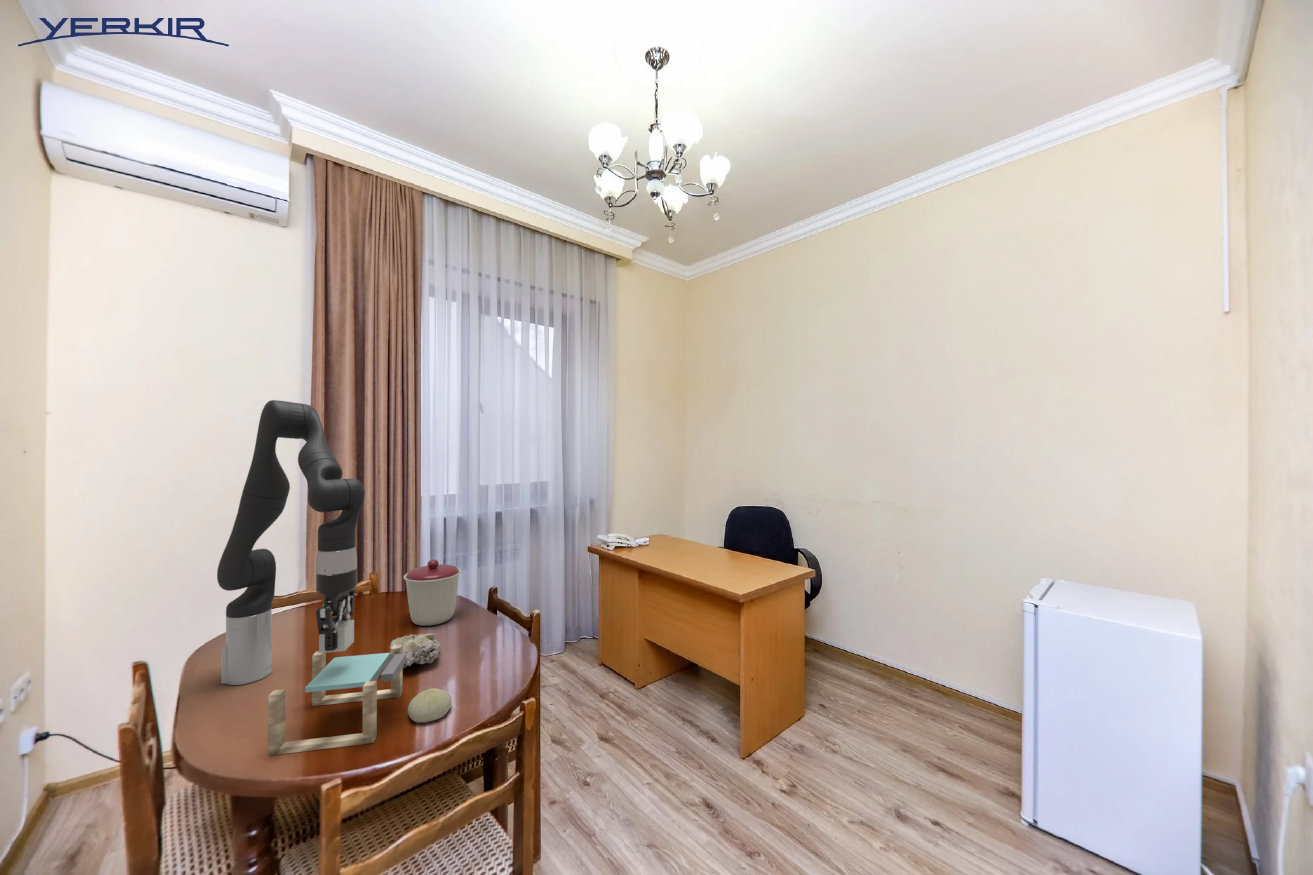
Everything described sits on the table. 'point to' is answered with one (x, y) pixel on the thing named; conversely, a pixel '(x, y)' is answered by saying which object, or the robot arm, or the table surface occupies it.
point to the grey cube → (340, 637)
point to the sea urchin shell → (429, 705)
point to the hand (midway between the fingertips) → (336, 644)
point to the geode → (418, 648)
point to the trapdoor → (355, 671)
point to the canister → (432, 593)
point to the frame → (319, 698)
